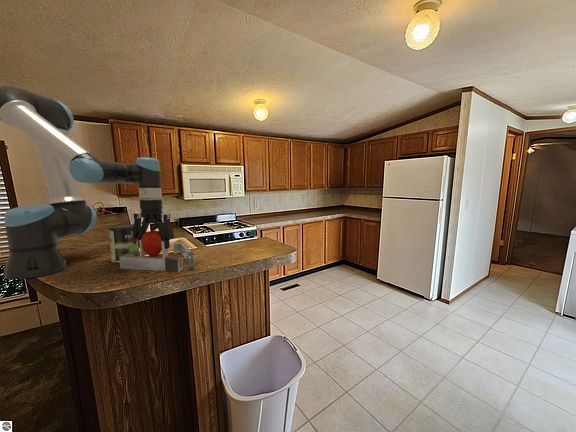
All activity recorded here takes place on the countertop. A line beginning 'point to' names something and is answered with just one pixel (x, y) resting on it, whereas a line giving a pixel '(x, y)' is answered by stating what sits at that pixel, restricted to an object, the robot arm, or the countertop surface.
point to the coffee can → (122, 241)
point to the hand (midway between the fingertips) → (154, 256)
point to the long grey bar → (155, 263)
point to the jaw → (183, 250)
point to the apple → (152, 243)
